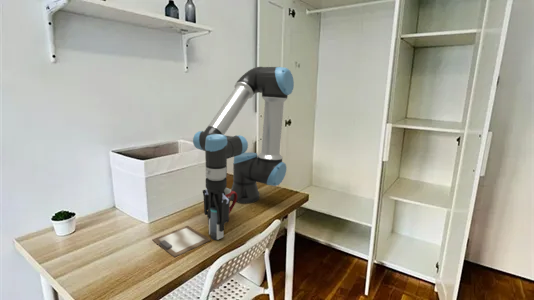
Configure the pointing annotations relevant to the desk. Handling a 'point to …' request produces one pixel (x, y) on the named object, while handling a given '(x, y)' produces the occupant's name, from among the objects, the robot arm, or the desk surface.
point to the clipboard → (181, 240)
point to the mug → (228, 195)
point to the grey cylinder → (214, 223)
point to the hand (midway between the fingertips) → (216, 235)
